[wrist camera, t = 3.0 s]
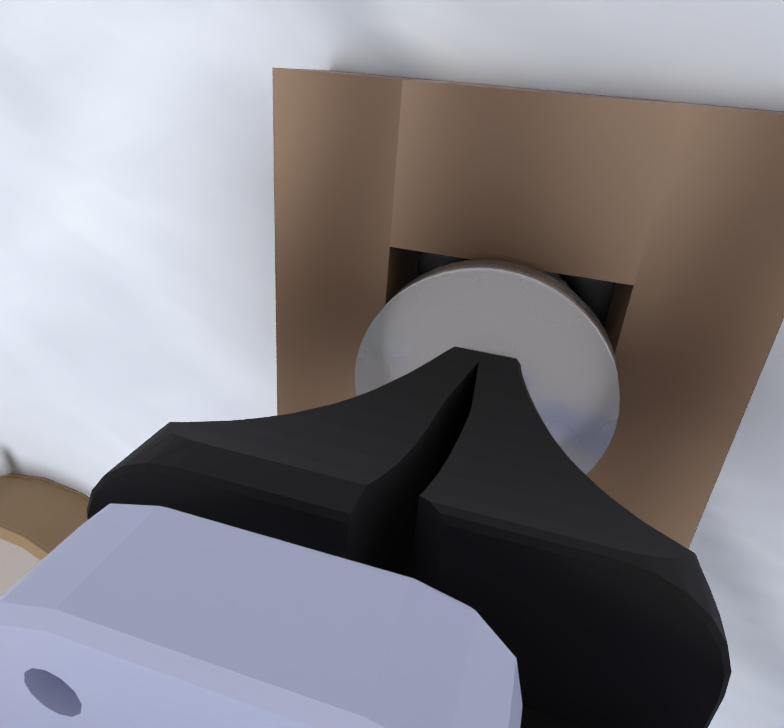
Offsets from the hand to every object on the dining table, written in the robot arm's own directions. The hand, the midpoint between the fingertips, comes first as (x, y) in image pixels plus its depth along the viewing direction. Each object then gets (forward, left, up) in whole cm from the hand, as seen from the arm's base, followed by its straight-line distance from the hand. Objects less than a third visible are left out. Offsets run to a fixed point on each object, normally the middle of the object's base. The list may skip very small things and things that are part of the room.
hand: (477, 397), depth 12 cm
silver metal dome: (0, 0, -3) cm, 3 cm away
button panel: (0, +6, -4) cm, 7 cm away
